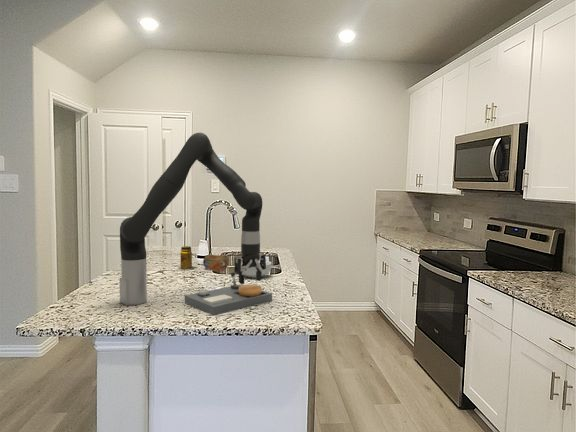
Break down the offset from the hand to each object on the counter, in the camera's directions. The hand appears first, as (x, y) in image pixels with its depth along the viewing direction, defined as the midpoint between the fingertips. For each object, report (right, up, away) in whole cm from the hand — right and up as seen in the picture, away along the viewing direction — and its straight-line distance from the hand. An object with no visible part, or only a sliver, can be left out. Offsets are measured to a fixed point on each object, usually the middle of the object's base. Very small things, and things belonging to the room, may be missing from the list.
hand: (250, 282), depth 167 cm
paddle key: (-11, -6, -10) cm, 17 cm away
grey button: (-18, -5, -3) cm, 19 cm away
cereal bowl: (-2, -4, +45) cm, 45 cm away
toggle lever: (-7, -3, +7) cm, 10 cm away
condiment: (-40, -2, +62) cm, 74 cm away
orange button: (0, -5, 0) cm, 5 cm away
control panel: (-8, -8, -2) cm, 11 cm away
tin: (-24, -3, +58) cm, 63 cm away
